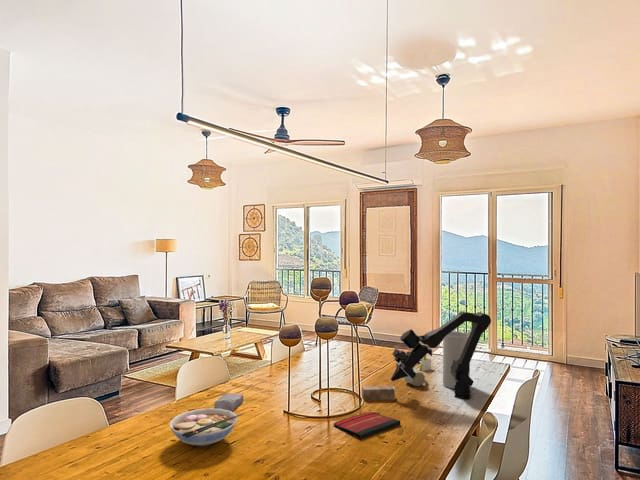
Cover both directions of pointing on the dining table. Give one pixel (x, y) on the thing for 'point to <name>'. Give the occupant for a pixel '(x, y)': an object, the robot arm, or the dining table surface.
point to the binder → (366, 424)
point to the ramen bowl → (203, 426)
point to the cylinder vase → (452, 355)
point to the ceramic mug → (416, 378)
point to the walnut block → (378, 392)
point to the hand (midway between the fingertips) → (391, 380)
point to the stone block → (229, 401)
